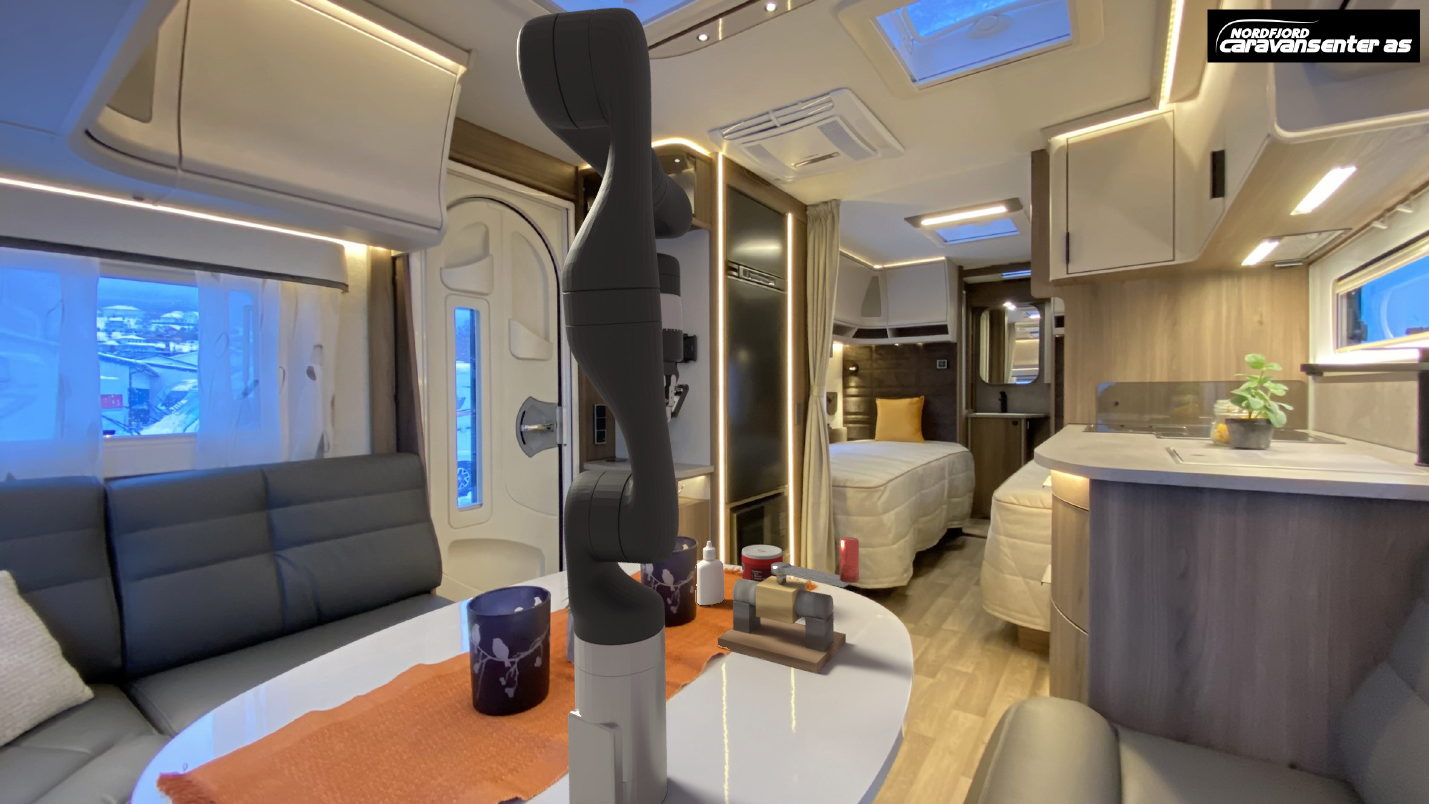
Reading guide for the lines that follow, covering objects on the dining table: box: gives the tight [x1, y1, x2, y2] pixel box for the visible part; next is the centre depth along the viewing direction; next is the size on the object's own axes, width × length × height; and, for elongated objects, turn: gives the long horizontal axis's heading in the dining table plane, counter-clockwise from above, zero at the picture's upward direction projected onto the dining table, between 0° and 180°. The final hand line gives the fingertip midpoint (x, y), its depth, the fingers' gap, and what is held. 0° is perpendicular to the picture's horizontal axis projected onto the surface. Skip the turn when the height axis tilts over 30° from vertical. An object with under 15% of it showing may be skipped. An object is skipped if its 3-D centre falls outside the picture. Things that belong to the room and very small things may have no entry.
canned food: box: [741, 544, 784, 582], centre depth 112 cm, size 8×8×11 cm
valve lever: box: [771, 536, 860, 588], centre depth 91 cm, size 15×3×9 cm, turn 50°
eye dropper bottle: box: [696, 540, 725, 606], centre depth 115 cm, size 4×6×12 cm
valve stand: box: [717, 576, 847, 674], centre depth 95 cm, size 12×17×10 cm
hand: (658, 448), depth 85 cm, fingers closed
